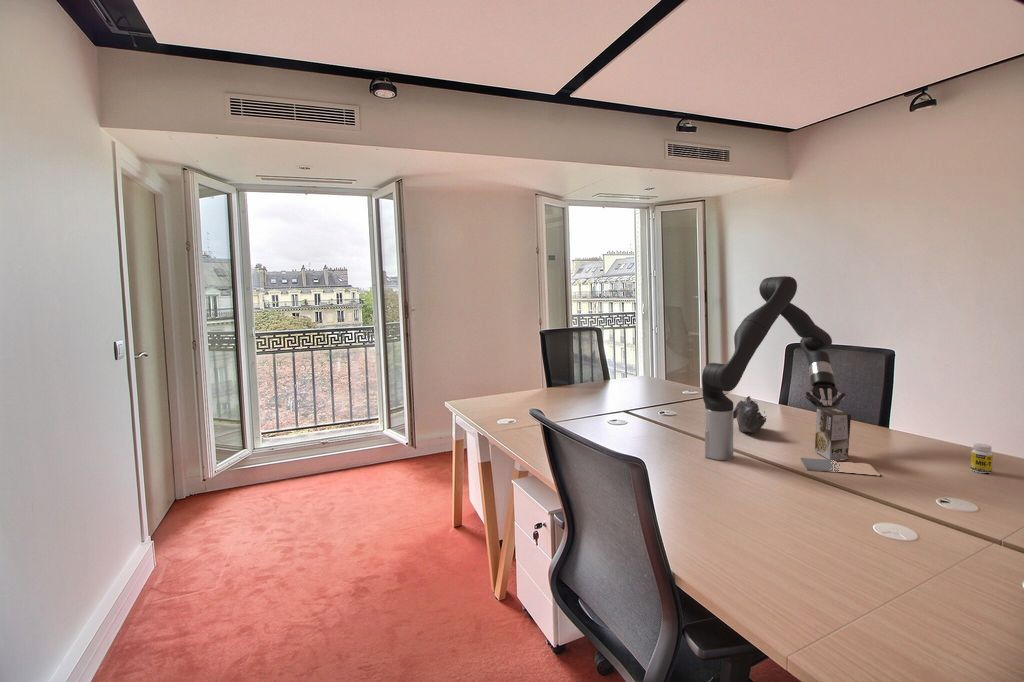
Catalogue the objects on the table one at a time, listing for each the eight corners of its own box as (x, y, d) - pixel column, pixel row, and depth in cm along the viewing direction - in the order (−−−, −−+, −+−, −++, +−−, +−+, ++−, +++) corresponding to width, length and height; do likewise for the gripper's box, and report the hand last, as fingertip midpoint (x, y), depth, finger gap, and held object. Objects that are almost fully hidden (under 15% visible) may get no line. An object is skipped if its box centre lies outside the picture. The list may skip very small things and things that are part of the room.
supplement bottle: (973, 473, 151) (974, 446, 150) (968, 468, 155) (969, 442, 154) (994, 475, 149) (995, 448, 148) (988, 470, 153) (989, 443, 152)
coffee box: (848, 460, 165) (852, 414, 163) (829, 461, 165) (832, 415, 163) (831, 450, 174) (834, 406, 172) (813, 450, 174) (816, 407, 172)
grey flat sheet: (806, 470, 158) (806, 469, 158) (800, 458, 169) (800, 457, 169) (881, 476, 151) (881, 475, 150) (870, 464, 161) (870, 463, 161)
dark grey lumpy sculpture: (726, 423, 212) (732, 439, 194) (730, 391, 210) (736, 404, 191) (762, 428, 208) (771, 444, 189) (766, 395, 206) (776, 408, 187)
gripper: (802, 370, 183) (808, 409, 173) (844, 370, 178) (853, 411, 168) (799, 381, 188) (805, 420, 178) (840, 382, 184) (848, 423, 173)
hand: (828, 416), depth 173 cm, fingers closed
